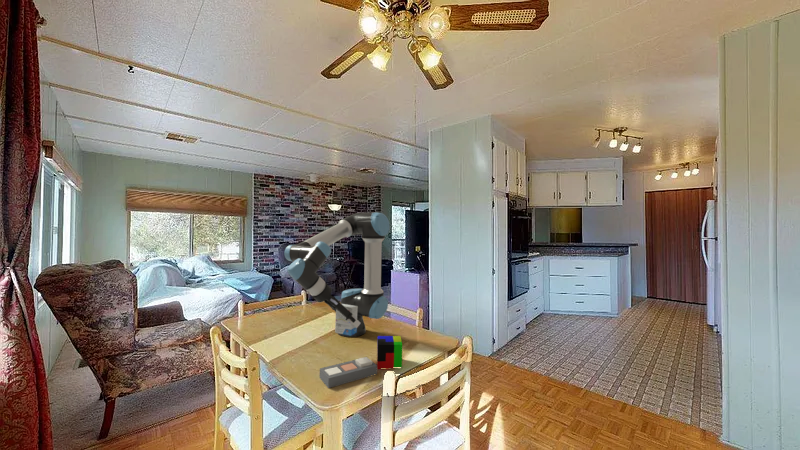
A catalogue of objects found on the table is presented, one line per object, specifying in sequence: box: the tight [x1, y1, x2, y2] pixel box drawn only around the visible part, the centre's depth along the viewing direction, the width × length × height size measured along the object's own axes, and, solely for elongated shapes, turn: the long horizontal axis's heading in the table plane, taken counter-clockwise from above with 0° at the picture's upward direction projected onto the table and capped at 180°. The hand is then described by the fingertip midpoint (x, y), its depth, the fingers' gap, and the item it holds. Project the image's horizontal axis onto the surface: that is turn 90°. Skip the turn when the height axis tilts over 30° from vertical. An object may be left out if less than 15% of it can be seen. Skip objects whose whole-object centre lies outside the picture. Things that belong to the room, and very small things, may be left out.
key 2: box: [354, 356, 373, 367], centre depth 125 cm, size 5×5×2 cm
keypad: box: [319, 359, 378, 389], centre depth 121 cm, size 20×9×4 cm, turn 124°
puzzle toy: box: [376, 335, 403, 370], centre depth 133 cm, size 10×10×10 cm
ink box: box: [334, 304, 358, 336], centre depth 137 cm, size 9×5×12 cm, turn 65°
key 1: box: [324, 367, 342, 376], centre depth 118 cm, size 5×5×2 cm
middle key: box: [340, 363, 357, 371], centre depth 121 cm, size 5×5×2 cm
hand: (353, 322), depth 138 cm, fingers closed on ink box, 10 cm apart
